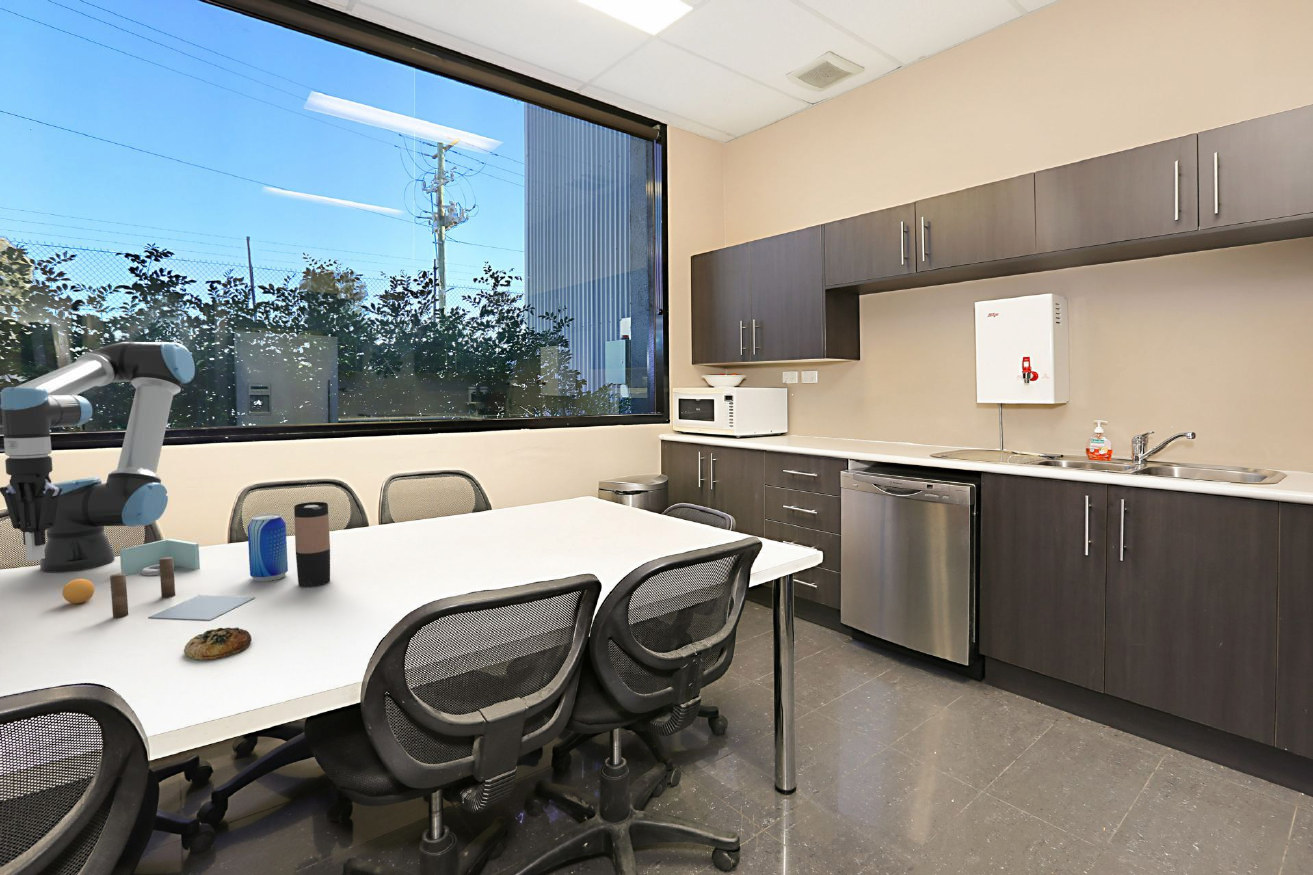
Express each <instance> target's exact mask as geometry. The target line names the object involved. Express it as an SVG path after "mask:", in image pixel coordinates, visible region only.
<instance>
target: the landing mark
mask: <svg viewBox="0 0 1313 875" xmlns="http://www.w3.org/2000/svg"><path fill="white" fill-rule="evenodd" d="M254 599H256V597H255V596H234V595H233V596H232V595H231V596H230V595H206V594H205V595H204V594H198V595H196V596H193V597H192V598H189V599H186V600H184V601H182V602H180V603H178V604H176V605H172V606H171V607H169V608H166V609H164V610H162V611H159V612H156V613H155V614H152V615H150V616H148V617H147V618H148V619H162V620H165V619H166V620H189V621H190V620H191V621H209V622H210V621H212V620H214V619H217V618H219V617H220V616H222V615H224V614H226V613H228V612H230V611H232V610H235V609H236V608H238V607H240V606H242V605H244V604H246V603H248V602H250V601H252V600H254Z"/></svg>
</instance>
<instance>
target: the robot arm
mask: <svg viewBox="0 0 1313 875" xmlns="http://www.w3.org/2000/svg"><path fill="white" fill-rule="evenodd" d="M195 367H196V366H195V362H194V358H193V356H192V354H191V352H190V351H189V350H188V348H187V347H186V346H184V345H183V344H181V343H179V342H178V343H177V342H167V341H162V342H153V341H152V342H151V341H149V342H146V341H143V342H142V341H139V342H138V341H122V342H117V343H112V344H109V345H105V346H102V347H99V348H96V349H94V350H91V351H88V352H85V353H83V354H81V355H80V356H78V357H77V358H76V360H75V362H73V363H70V364H67V365H65V366H62V367H60V368H58V369H56V370H52V371H50V372H48V373H46V374H43V375H41V376H39V377H37V378H34V379H32V380H28V381H26V382H25V383H22V384H19V385H17V386H14V387H10V386H8V387H5V388H3V389H2V390H1V392H0V428H3V443H4V444H3V445H4V455H5V456H7V458H5V462H4V463H5V473H6V475H8V476H10V479H9V483H8V484H7V485H6V486H1V487H0V494H1V495H2V497H3V498H4V501H5V505H6V508H7V509H6V510H7V512H8V515H9V518H10V522H11V525H12V528H13V529H14V530H17V529H18V530H20V531H21V532H22V540H23V545H24V546H25V553H26V554H25V555H26V556H25V558H26V562H35V561H36V562H37V561H38V560H39V567H40V571H42V572H44V573H64V572H65V573H66V572H74V571H75V572H76V571H81V570H83V571H84V570H86V569H92V568H96V567H97V568H98V567H102V566H104V565H105V566H106V565H108V564H110V563H112V562H113V561H115V559H116V558H115V551H114V549H113V548H112V547H111V543H110V542H109V540H108V538H107V536H106V533H105V527H129V528H133V527H134V528H135V527H139V526H140V527H141V526H142V527H143V526H149V525H152V524H154V523H155V522H157V520H159V519H160V518H161V517H162V515H163V514H164V512H165V511H166V509H167V506H168V500H169V496H168V490H167V488H166V486H164V484H162V479H161V477H159V475H158V474H157V471H158V466H159V461H160V456H161V452H162V448H163V444H164V443H163V442H164V439H165V433H166V429H167V425H168V421H169V417H170V416H169V415H170V411H171V407H172V402H173V399H174V396H175V395H177V394H179V393H181V390H182V386H183V384H187V383H190V382H191V381H192V380H194V377H195V374H196V373H195V372H196V368H195ZM122 382H124V383H127V382H128V383H131V385H132V387H134V388H135V392H134V397H133V400H132V401H133V402H132V405H131V410H130V414H129V417H128V423H127V426H126V430H125V434H124V438H123V443H122V447H121V451H120V456H119V460H118V463H117V468H116V469H115V470H112V472H110V473H108V476H107V479H106V482H105V483H102V480H101V478H100V477H87V478H78V479H74V480H67V481H66V480H65V481H63V482H62V481H61V482H57V483H52V479H51V477H50V476H49V475H50V473H52V472H53V457H51V453H52V442H51V441H52V440H51V431H50V429H51V428H62V427H64V428H65V427H66V428H68V427H71V428H73V427H74V428H75V427H76V426H81V425H84V424H86V423H88V422H89V421H90V419H91V418H92V416H93V407H92V404H91V402H90V401H89V400H88V399H86V398H85V397H83V396H81V395H79V394H81V393H84V392H85V391H88V390H90V389H91V388H94V387H104V386H107V385H109V384H113V383H122Z"/></svg>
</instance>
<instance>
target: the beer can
mask: <svg viewBox="0 0 1313 875" xmlns="http://www.w3.org/2000/svg"><path fill="white" fill-rule="evenodd" d="M286 524H287V523H286V522H285V520H284V519H283V517H282V515H281V514H280V513H266V514H258V515H255V516H252V517H251V520H250V522H249V524H248V525H247V540H248V541H247V542H248V561H249V563H248V564H249V576H250V577H251V578H252V579H253V580H254V582H272V580H273V581H276V580H280V579H282V577H283V578H284V577H285V576H286V574H287V572H288V570H289V568H288V567H289V564H288V546H287V525H286Z"/></svg>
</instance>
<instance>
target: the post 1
mask: <svg viewBox="0 0 1313 875" xmlns="http://www.w3.org/2000/svg"><path fill="white" fill-rule="evenodd" d="M109 579H110V580H109V581H110V582H109V583H110V593H111V597H110V598H111V610H112V618H113V619H117V618H118V619H119V618H124V617H128V616H129V603H128V589H127V575H126V574H125V573H121V572H119V573H115V574H111V575H110V576H109Z"/></svg>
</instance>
